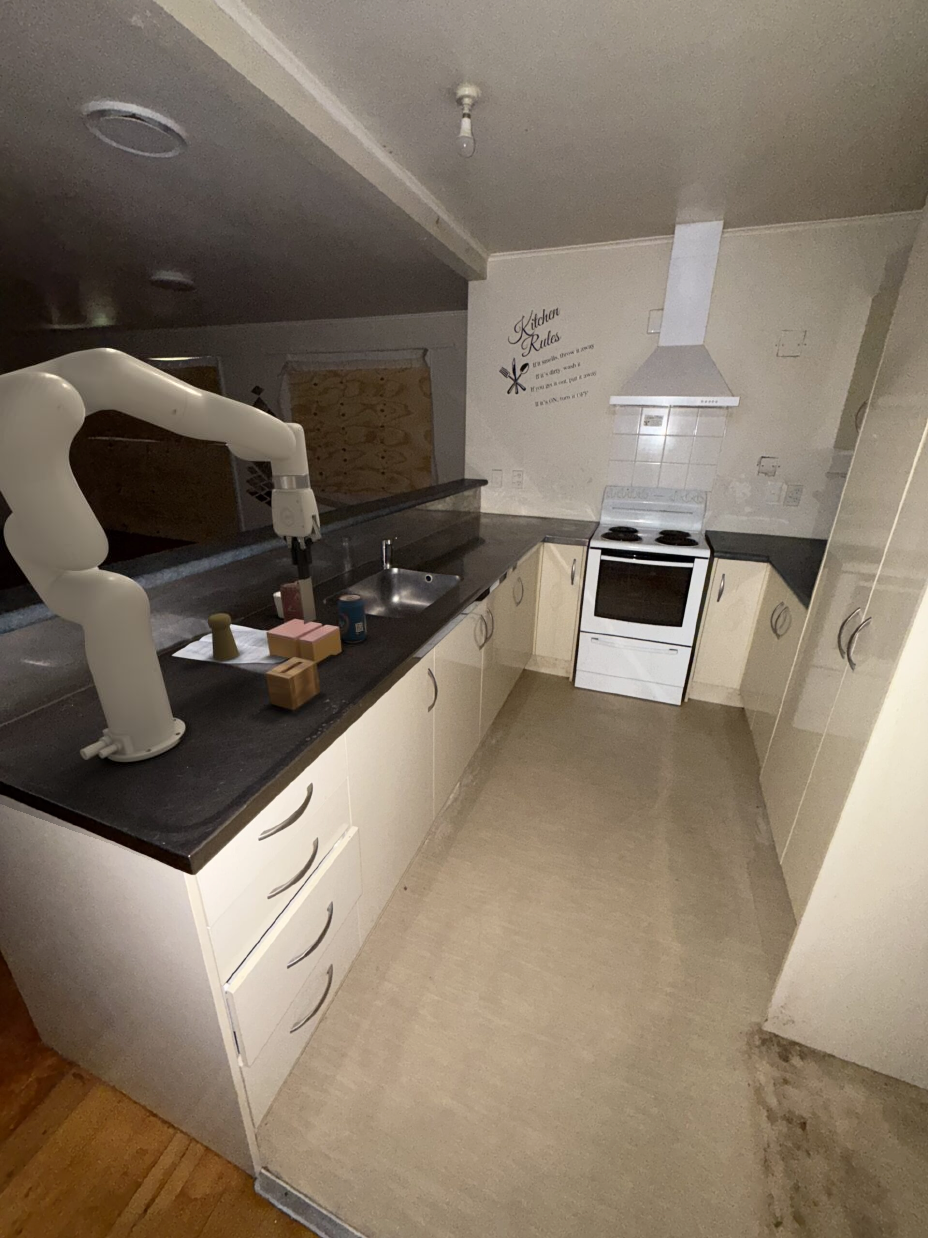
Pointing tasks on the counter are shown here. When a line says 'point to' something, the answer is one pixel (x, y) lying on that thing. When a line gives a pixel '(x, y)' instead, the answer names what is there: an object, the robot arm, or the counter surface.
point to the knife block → (293, 683)
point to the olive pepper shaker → (222, 637)
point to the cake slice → (320, 643)
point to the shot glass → (278, 604)
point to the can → (291, 601)
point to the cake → (289, 637)
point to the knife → (305, 587)
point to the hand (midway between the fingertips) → (302, 563)
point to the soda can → (352, 618)
